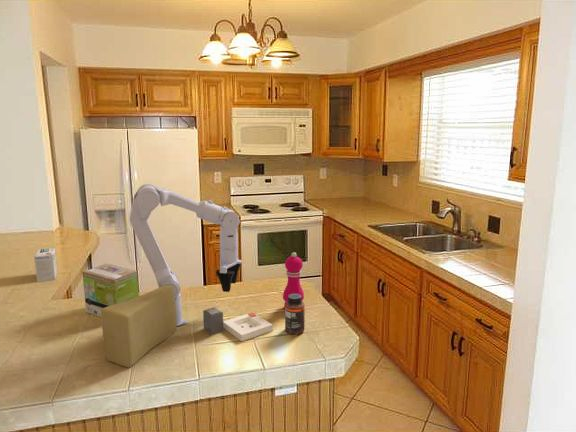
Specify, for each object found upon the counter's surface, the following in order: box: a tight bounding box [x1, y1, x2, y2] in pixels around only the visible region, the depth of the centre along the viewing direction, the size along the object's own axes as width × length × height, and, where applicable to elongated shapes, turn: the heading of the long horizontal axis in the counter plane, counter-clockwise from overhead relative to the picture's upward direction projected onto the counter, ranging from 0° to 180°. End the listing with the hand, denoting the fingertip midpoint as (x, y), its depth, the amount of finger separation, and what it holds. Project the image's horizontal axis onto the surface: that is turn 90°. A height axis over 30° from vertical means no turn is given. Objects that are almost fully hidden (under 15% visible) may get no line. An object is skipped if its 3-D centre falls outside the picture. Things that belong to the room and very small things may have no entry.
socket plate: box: [223, 312, 274, 342], centre depth 130 cm, size 11×11×2 cm
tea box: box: [81, 263, 140, 317], centre depth 140 cm, size 15×10×15 cm
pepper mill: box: [282, 251, 305, 309], centre depth 144 cm, size 7×7×20 cm
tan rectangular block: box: [100, 285, 178, 368], centre depth 119 cm, size 22×10×15 cm, turn 152°
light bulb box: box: [34, 247, 58, 283], centre depth 173 cm, size 11×7×11 cm, turn 25°
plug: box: [202, 306, 224, 336], centre depth 129 cm, size 4×5×6 cm
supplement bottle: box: [284, 294, 306, 335], centre depth 129 cm, size 6×6×11 cm
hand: (229, 287), depth 139 cm, fingers open, 7 cm apart
